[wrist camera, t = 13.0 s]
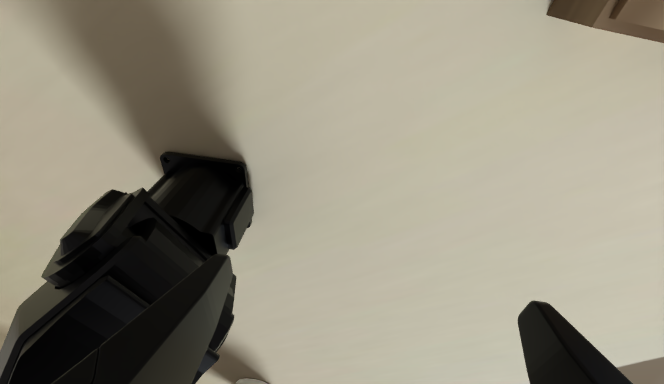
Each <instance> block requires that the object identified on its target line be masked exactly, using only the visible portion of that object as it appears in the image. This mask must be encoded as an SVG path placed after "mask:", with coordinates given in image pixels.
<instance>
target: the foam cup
mask: <svg viewBox="0 0 664 384" xmlns="http://www.w3.org/2000/svg"><path fill="white" fill-rule="evenodd" d="M236 384H268V383H266V382H264V381H260V380H256V379H248V378H245V379H240V380H238V381H237V382H236Z"/></svg>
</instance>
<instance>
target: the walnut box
mask: <svg viewBox="0 0 664 384" xmlns="http://www.w3.org/2000/svg"><path fill="white" fill-rule="evenodd" d="M547 15H548V16H552V17H556V18H559V19H563V20H567V21H570V22H574V23H578V24H581V25H585V26H589V27H593V28H597V29H602V30H606V31H611V32H616V33H620V34H625V35H629V36H634V37H639V38H643V39H648V40H652V41H657V42H661V43H664V0H554V1H553V3H552V5H551V7H550V9H549V11H548V13H547Z"/></svg>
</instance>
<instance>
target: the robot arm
mask: <svg viewBox="0 0 664 384" xmlns="http://www.w3.org/2000/svg"><path fill="white" fill-rule="evenodd" d="M166 157H167V158H168V159H169V160H168V159H167V158H166ZM160 160H161V164H162V167H163V170H164V174H165V175H164V176H163V177H162V178H161V179H160V180H159V181H158V182H157V183H156V184H155V185H154V186H153V187H152V188H151V189H149V190H148V191H146V190H145V189H144V188H141V189H139V190H137V191H135V192H133V193H129V194H128V193H126V192H125V193H123V192H120V191H116V190H113V189H112V190H110V191H108V192H106V193H105V194H104V195H103V196H101V197H100V198H99V199H98V200H97V201H95V202H94V203H93V204H92V205H91V206H90V207H88V208H87V209H86V210H85V211H84V212H83V213H82V214H81V215H80V216H79V217H78V218H77V220H76V221H75V222H74V223H73V225H72V226H71V227H70V228H69V229H68V231H67V232H66V233H65V234H64V236H63V237H62V238H61V239H60V245H59V247H58V249H57V250H56V252H55V254H54V255H53V257H52V259H51V260H50V262H49V264H48V265H47V267H46V269H45V270H44V272H43V274H42V276H41V277H42V278H44V279H45V280H47V282H46V283H45V284H44V285H42V286H41V287H40V288H39V289H38V290H37V291H36V292H34V293H33V294H32V295H31V296H30V297H29V298H28V299H26V300H25V301H24V302H23V303H22V304H21V305H20V306H19V308H18V309H17V311H16V314H15V316H14V319H13V321H12V324H11V326H10V329H9V331H8V334H7V336H6V339H5V341H4V344H3V346H2V349H1V351H0V384H195V383H196V382H197V381H198V380H199V378H200V377H201V376H202V375H203V374H204V373H205V372H206V371H207V370H208V369H209V368H210V367H211V366H212V365H213V364H214V363H215V362H217V361H218V359H219V354H218V353H216V352H217V351H218V349H219V348H220V347H221V345H222V344H223V342H224V341H225V339H226V337H227V335H228V332H229V330H230V328H231V326H232V324H233V321H234V315H233V314H232V311H233V302H234V293H235V285H236V276H235V275H234V274H233V271H232V266H231V260H230V257H229V256H228V255H226V254H227V253H228V251H229V249H233V250H234V249H235V248H237V247H238V245H239V243H240V241H241V239H242V237H243V235H244V232H245V230H246V228H249V227H250V225H251V223H252V216H253V214H254V209H253V198H252V190H251V189H250V188H249V187H248V176H247V168H246V165H245V164H244V163H242V162H239V161H232V160H225V159H217V158H210V157H202V156H195V155H188V154H180V153H173V152H165V153H163V154H162V155H161V156H160ZM237 167H239V168H241V170H239V169H238V168H237ZM518 327H519V332H520V337H521V342H522V347H523V353H524V358H525V363H526V368H527V373H528V377H529V381H530V384H633V383H632V382H631V381H630V380H628V379H627V378H626V377H625V376H624V375H623V374H622V373H621V372H620V371H619V370H618V369H617V368H616V367H615V366H614V365H613V364H612V363H611V362H610V361H609V360H608V359H607V358H606V357H604V356H603V355H602V354H601V353H600V352H599V351H598V350H597V349H596V348H595V347H594V346H593V345H592V344H591V343H590V342H589V341H588V340H587V339H586V338H585V337H584V336H583V335H582V334H580V333H579V332H578V331H577V330H576V329H575V328H574V327H573V326H572V325H571V324H570V323H569V322H568V321H567V320H566V319H565V318H564V317H563V316H562V315H561V314H560V313H559V312H557V311H556V310H555V309H554V308H553V307H552V306H551V305H550V304H548V303H546V302H540V301H531V302H530V303H529V304H528V305H527V306H526V307H525V309H524V310H523V311H522V312H521V313H520V315H519V317H518Z"/></svg>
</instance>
